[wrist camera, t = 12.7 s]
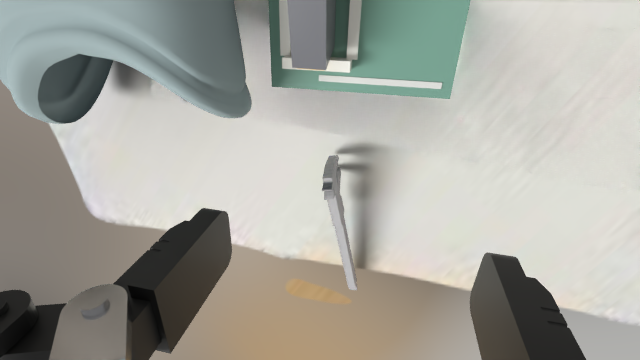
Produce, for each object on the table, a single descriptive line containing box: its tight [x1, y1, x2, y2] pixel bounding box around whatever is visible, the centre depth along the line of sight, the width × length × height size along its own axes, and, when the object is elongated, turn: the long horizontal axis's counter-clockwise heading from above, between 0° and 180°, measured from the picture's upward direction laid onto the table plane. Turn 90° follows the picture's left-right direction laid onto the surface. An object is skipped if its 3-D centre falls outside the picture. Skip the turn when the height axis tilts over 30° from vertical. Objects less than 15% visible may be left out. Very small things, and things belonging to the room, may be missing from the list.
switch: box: [287, 0, 336, 71], centre depth 29 cm, size 3×5×8 cm
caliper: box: [322, 155, 357, 290], centre depth 40 cm, size 20×1×6 cm, turn 9°
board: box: [269, 0, 470, 99], centre depth 30 cm, size 18×14×3 cm
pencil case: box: [0, 0, 251, 124], centre depth 30 cm, size 22×19×13 cm
